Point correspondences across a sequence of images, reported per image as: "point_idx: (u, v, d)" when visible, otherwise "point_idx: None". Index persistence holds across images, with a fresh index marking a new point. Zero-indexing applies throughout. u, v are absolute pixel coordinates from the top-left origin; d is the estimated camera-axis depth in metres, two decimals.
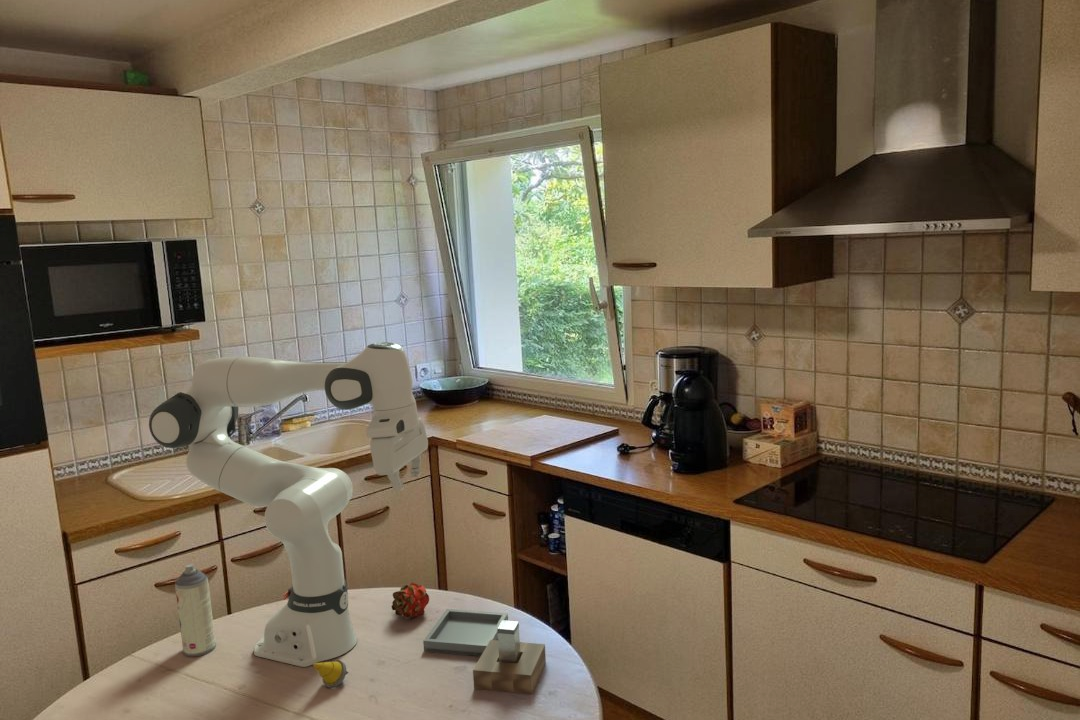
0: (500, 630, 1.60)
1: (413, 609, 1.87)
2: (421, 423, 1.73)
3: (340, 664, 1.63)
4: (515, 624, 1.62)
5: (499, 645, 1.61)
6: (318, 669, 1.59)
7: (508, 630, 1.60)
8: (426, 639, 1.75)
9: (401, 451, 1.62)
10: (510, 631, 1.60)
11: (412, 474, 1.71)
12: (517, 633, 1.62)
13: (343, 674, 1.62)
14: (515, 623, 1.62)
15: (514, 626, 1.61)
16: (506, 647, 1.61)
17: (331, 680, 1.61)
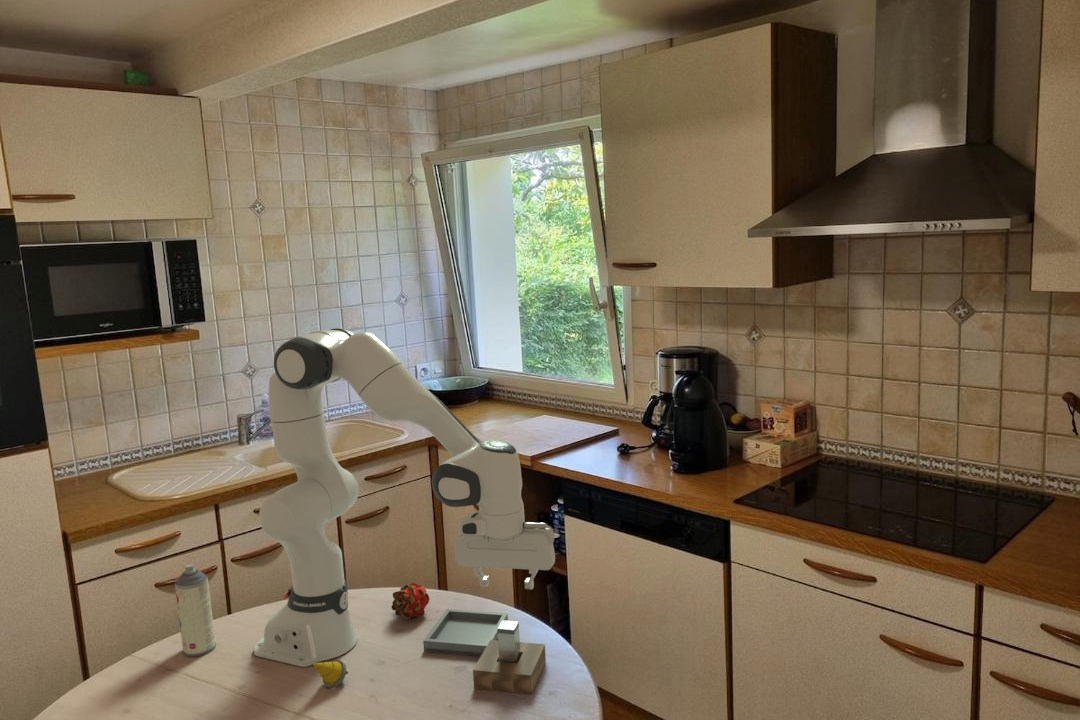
0: (500, 630, 1.60)
1: (413, 609, 1.87)
2: (538, 541, 1.55)
3: (340, 664, 1.63)
4: (515, 624, 1.62)
5: (499, 645, 1.61)
6: (318, 669, 1.59)
7: (508, 630, 1.60)
8: (426, 639, 1.75)
9: (481, 552, 1.59)
10: (510, 631, 1.60)
11: None
12: (517, 633, 1.62)
13: (343, 674, 1.62)
14: (515, 623, 1.62)
15: (514, 626, 1.61)
16: (506, 647, 1.61)
17: (331, 680, 1.61)
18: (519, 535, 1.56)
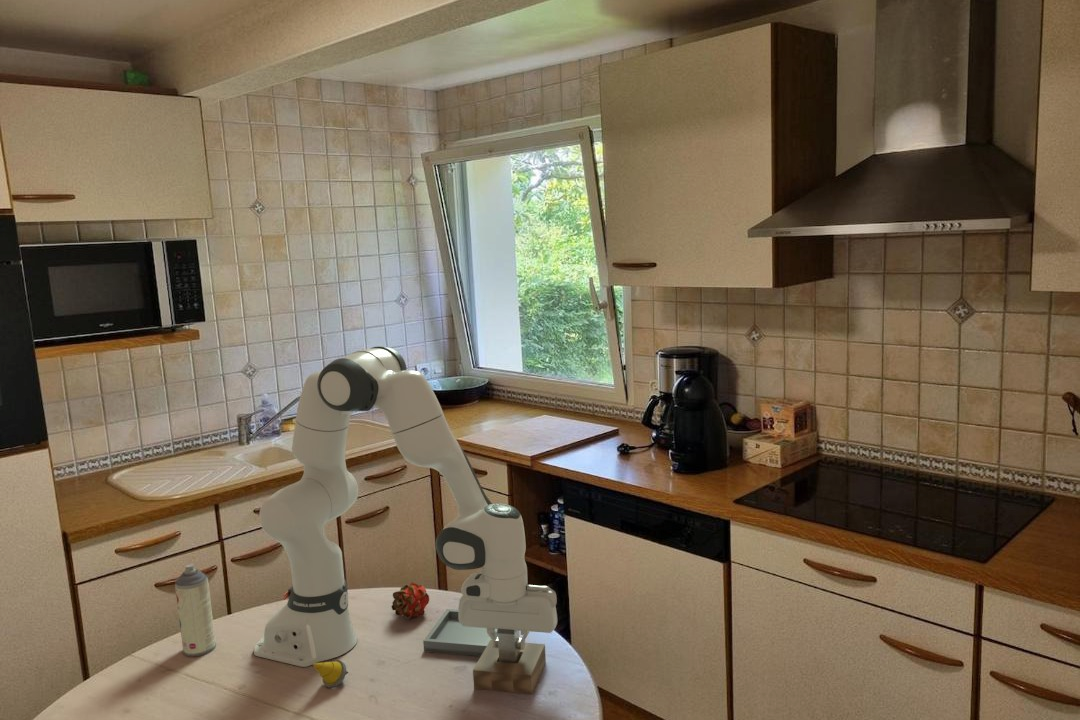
0: (500, 630, 1.60)
1: (413, 609, 1.87)
2: (541, 604, 1.57)
3: (340, 664, 1.63)
4: None
5: (499, 645, 1.61)
6: (318, 669, 1.59)
7: (508, 630, 1.60)
8: (426, 639, 1.75)
9: (484, 613, 1.61)
10: (510, 631, 1.60)
11: None
12: (517, 633, 1.62)
13: (343, 674, 1.62)
14: None
15: None
16: (506, 647, 1.61)
17: (331, 680, 1.61)
18: (522, 598, 1.58)
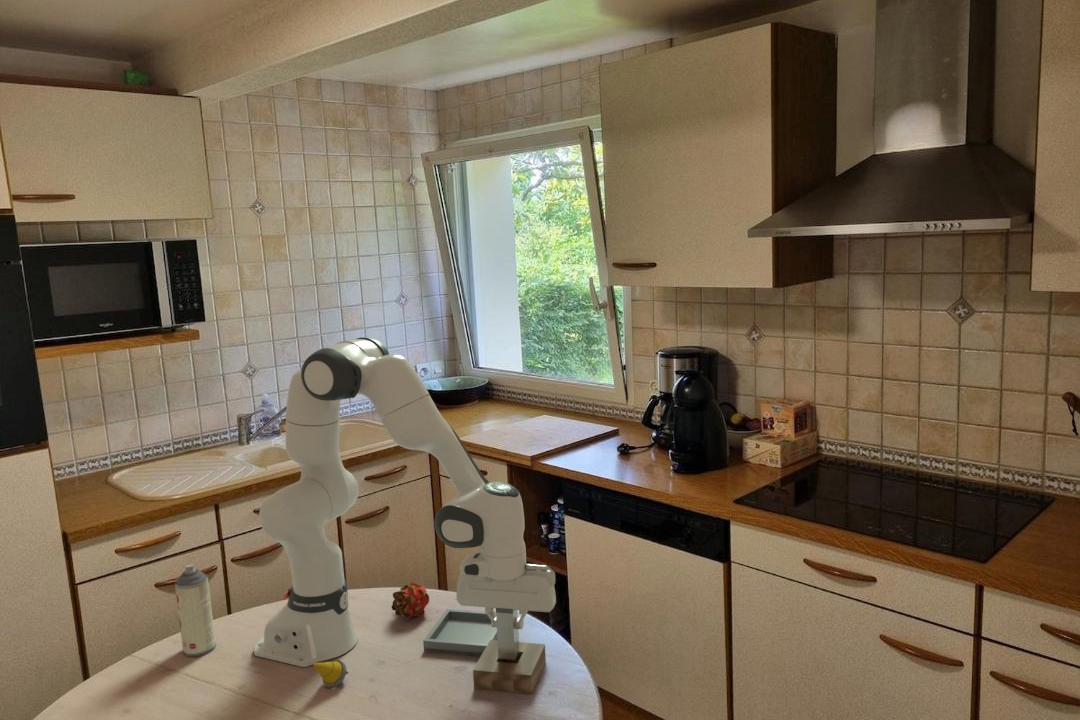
0: (498, 609, 1.60)
1: (413, 609, 1.87)
2: (539, 583, 1.57)
3: (340, 664, 1.63)
4: None
5: (497, 624, 1.60)
6: (318, 669, 1.59)
7: (506, 609, 1.59)
8: (426, 639, 1.75)
9: (483, 592, 1.60)
10: (508, 610, 1.59)
11: None
12: (515, 612, 1.62)
13: (343, 674, 1.62)
14: None
15: None
16: (504, 627, 1.60)
17: (331, 680, 1.61)
18: (521, 577, 1.58)
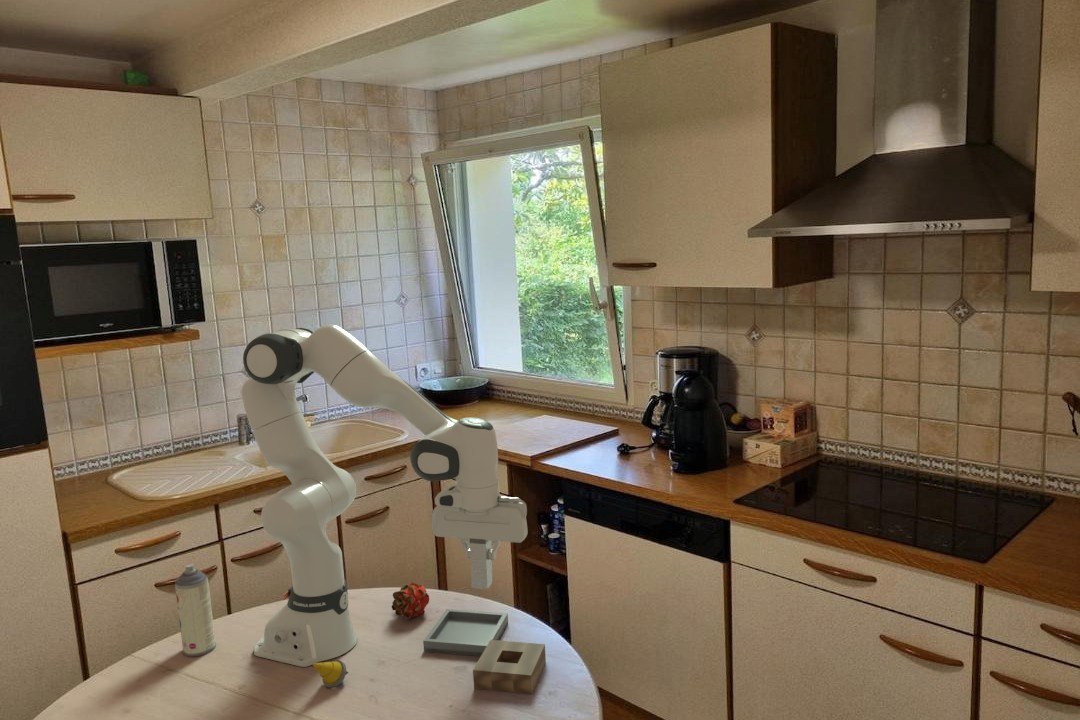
0: (472, 540, 1.66)
1: (413, 609, 1.87)
2: (511, 514, 1.62)
3: (340, 664, 1.63)
4: None
5: (471, 555, 1.66)
6: (318, 669, 1.59)
7: (480, 540, 1.65)
8: (426, 639, 1.75)
9: (457, 523, 1.66)
10: (482, 541, 1.65)
11: None
12: (489, 544, 1.67)
13: (343, 674, 1.62)
14: None
15: None
16: (477, 557, 1.66)
17: (331, 680, 1.61)
18: (493, 508, 1.63)
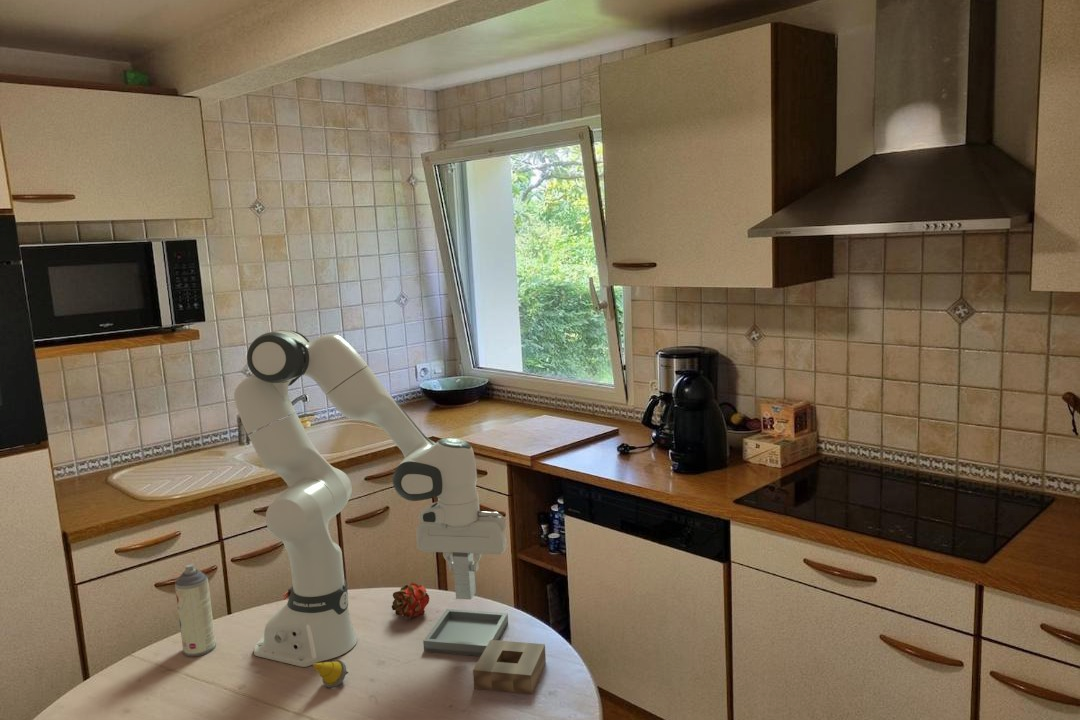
0: (455, 553, 1.75)
1: (413, 609, 1.87)
2: (491, 528, 1.72)
3: (340, 664, 1.63)
4: None
5: (454, 567, 1.76)
6: (318, 669, 1.59)
7: (462, 553, 1.75)
8: (426, 639, 1.75)
9: (440, 538, 1.75)
10: (464, 554, 1.75)
11: None
12: (471, 556, 1.77)
13: (343, 674, 1.62)
14: None
15: None
16: (460, 569, 1.76)
17: (331, 680, 1.61)
18: (474, 523, 1.73)
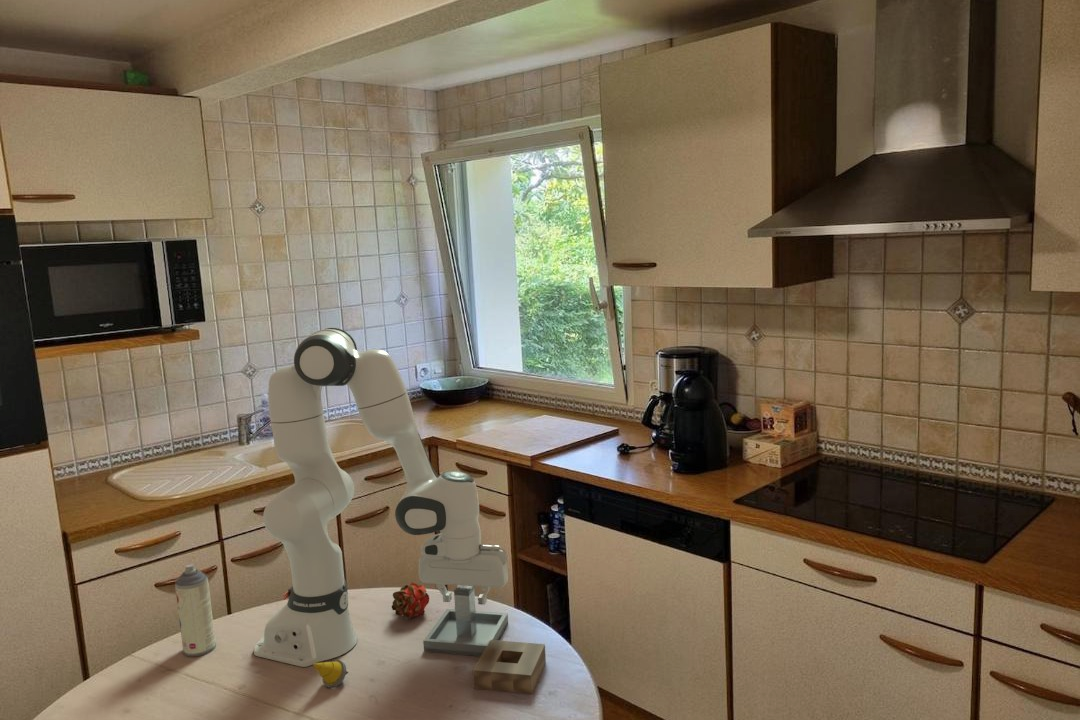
0: (456, 592, 1.77)
1: (413, 609, 1.87)
2: (492, 562, 1.73)
3: (340, 664, 1.63)
4: (470, 587, 1.78)
5: (455, 606, 1.77)
6: (318, 669, 1.59)
7: (463, 592, 1.76)
8: (426, 639, 1.75)
9: (442, 570, 1.77)
10: (465, 593, 1.76)
11: None
12: (472, 595, 1.78)
13: (343, 674, 1.62)
14: (470, 586, 1.79)
15: (469, 588, 1.77)
16: (462, 608, 1.77)
17: (331, 680, 1.61)
18: (475, 556, 1.74)
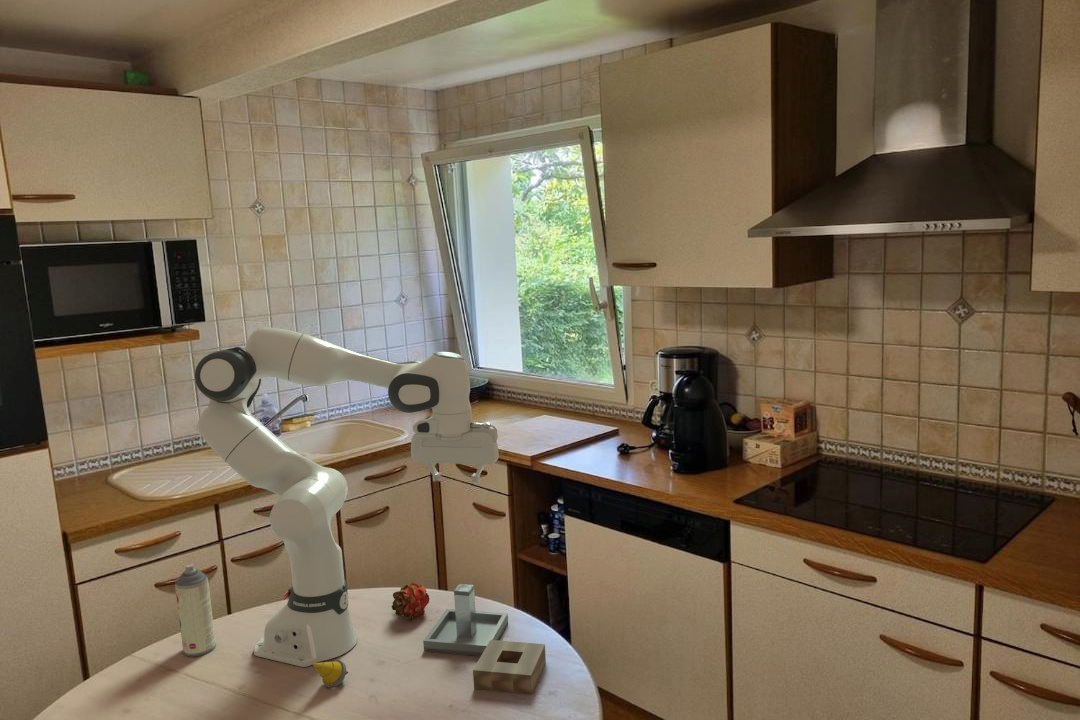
0: (456, 592, 1.77)
1: (413, 609, 1.87)
2: (483, 438, 1.77)
3: (340, 664, 1.63)
4: (470, 587, 1.78)
5: (455, 606, 1.77)
6: (318, 669, 1.59)
7: (463, 592, 1.76)
8: (426, 639, 1.75)
9: (434, 449, 1.80)
10: (465, 593, 1.76)
11: None
12: (472, 595, 1.78)
13: (343, 674, 1.62)
14: (470, 586, 1.79)
15: (469, 588, 1.77)
16: (462, 608, 1.77)
17: (331, 680, 1.61)
18: (467, 433, 1.78)
